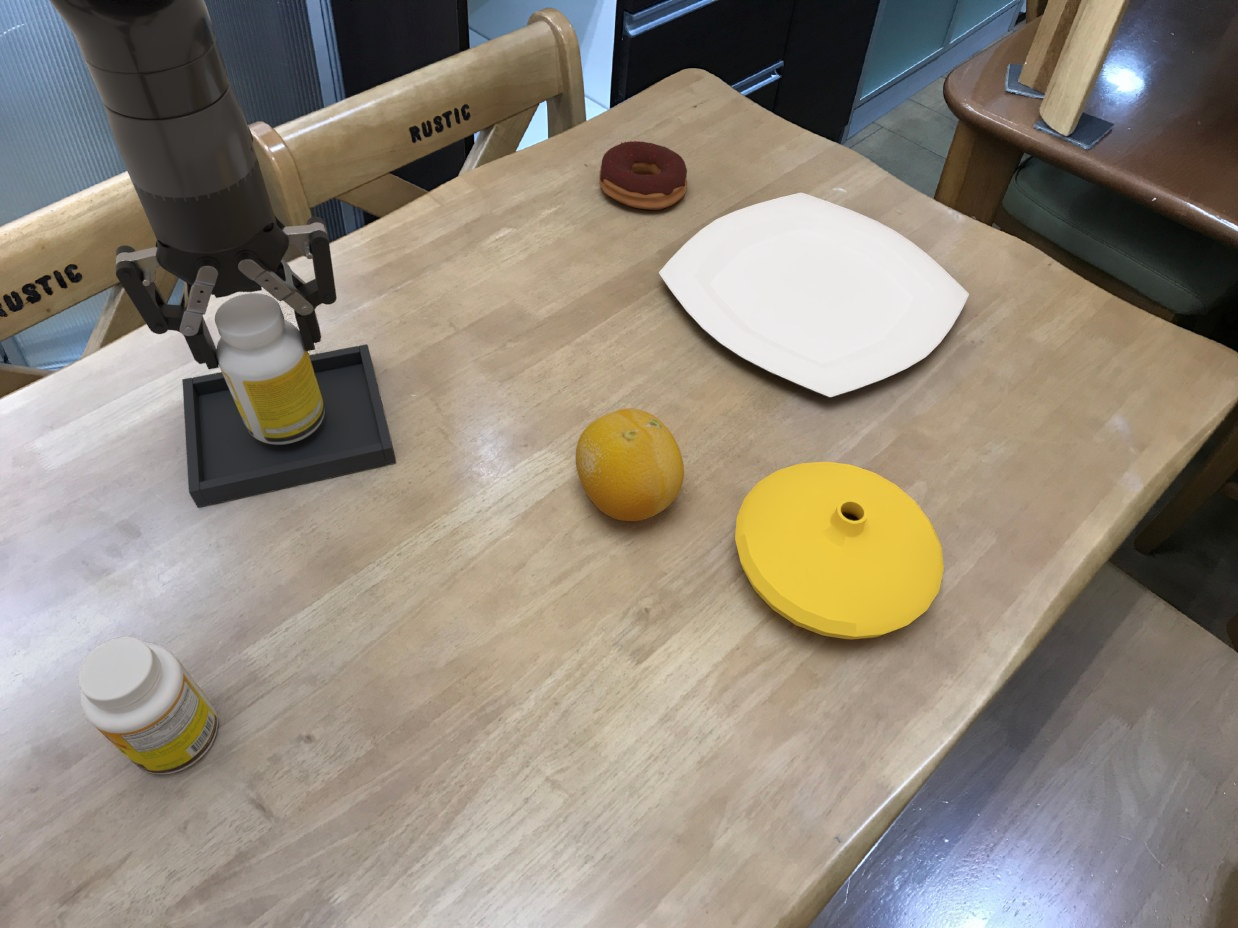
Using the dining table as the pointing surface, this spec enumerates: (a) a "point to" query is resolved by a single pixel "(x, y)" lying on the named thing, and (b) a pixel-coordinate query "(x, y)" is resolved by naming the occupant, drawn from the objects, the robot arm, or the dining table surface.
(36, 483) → the dining table surface
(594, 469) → the fruit
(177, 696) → the supplement bottle
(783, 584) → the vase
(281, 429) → the pill bottle
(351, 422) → the holder
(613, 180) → the donut
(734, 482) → the dining table surface
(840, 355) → the plate
